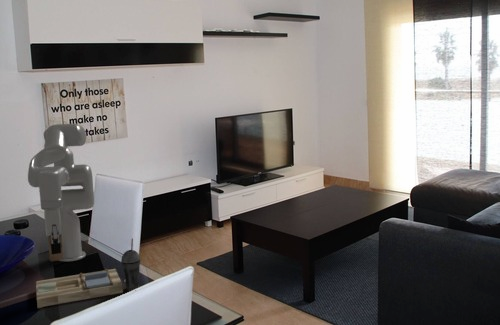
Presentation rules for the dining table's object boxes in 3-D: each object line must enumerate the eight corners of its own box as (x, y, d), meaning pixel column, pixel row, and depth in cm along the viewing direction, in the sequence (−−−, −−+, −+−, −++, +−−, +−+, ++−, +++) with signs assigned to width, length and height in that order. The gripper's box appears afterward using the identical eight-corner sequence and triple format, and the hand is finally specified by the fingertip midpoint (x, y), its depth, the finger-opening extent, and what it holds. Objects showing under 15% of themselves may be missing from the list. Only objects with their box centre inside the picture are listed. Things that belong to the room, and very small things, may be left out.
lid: (84, 280, 199) (84, 274, 199) (107, 276, 202) (106, 270, 202) (86, 288, 191) (86, 282, 191) (110, 284, 194) (110, 278, 194)
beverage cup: (119, 289, 199) (116, 239, 196) (135, 284, 204) (132, 235, 201) (129, 294, 194) (126, 243, 191) (146, 289, 199) (143, 238, 196)
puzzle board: (37, 289, 201) (36, 279, 200) (115, 276, 212) (115, 267, 211) (37, 308, 184) (36, 297, 184) (123, 293, 196) (122, 282, 195)
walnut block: (49, 257, 194) (47, 232, 193) (62, 255, 196) (60, 230, 195) (50, 261, 190) (48, 235, 189) (63, 259, 192) (61, 233, 191)
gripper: (39, 200, 196) (43, 246, 199) (41, 210, 181) (46, 260, 184) (60, 198, 199) (64, 243, 202) (64, 207, 184) (68, 256, 187)
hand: (55, 250), depth 193 cm, fingers closed on walnut block, 4 cm apart
